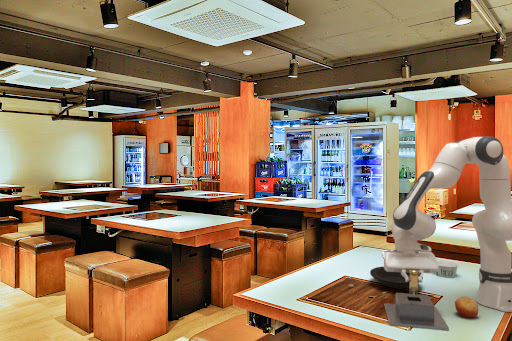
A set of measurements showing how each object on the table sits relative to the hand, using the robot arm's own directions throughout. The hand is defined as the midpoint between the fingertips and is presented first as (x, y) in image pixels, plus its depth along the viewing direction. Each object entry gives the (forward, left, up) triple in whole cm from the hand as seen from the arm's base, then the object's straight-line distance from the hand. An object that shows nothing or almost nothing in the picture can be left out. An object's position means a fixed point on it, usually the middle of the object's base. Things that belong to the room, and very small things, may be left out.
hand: (414, 281), depth 145 cm
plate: (+2, -40, -14) cm, 42 cm away
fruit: (-20, -7, -14) cm, 25 cm away
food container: (-26, -64, -14) cm, 70 cm away
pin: (0, -1, -5) cm, 5 cm away
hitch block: (0, -1, -14) cm, 14 cm away
